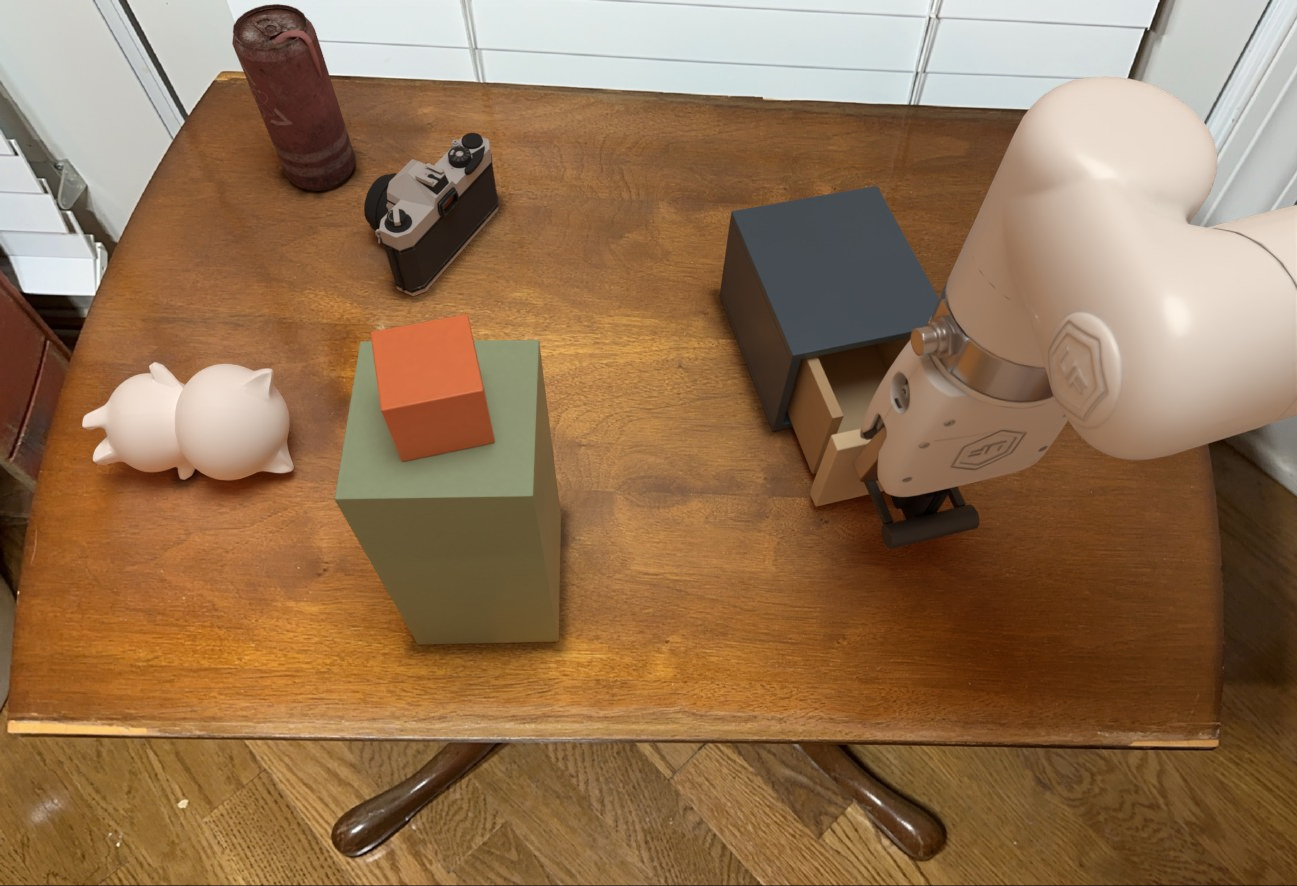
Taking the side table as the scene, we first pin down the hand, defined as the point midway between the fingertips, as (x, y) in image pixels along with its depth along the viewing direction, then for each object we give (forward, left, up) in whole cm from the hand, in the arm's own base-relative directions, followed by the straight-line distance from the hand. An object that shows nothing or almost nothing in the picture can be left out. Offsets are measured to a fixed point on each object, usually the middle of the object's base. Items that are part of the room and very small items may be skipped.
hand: (910, 502), depth 60 cm
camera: (+28, +35, -4) cm, 45 cm away
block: (-3, +28, +16) cm, 32 cm away
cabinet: (+16, +4, -4) cm, 17 cm away
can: (+36, +45, -4) cm, 57 cm away
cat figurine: (+8, +48, -4) cm, 49 cm away
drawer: (+6, +1, -3) cm, 7 cm away
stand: (-3, +28, -4) cm, 28 cm away
